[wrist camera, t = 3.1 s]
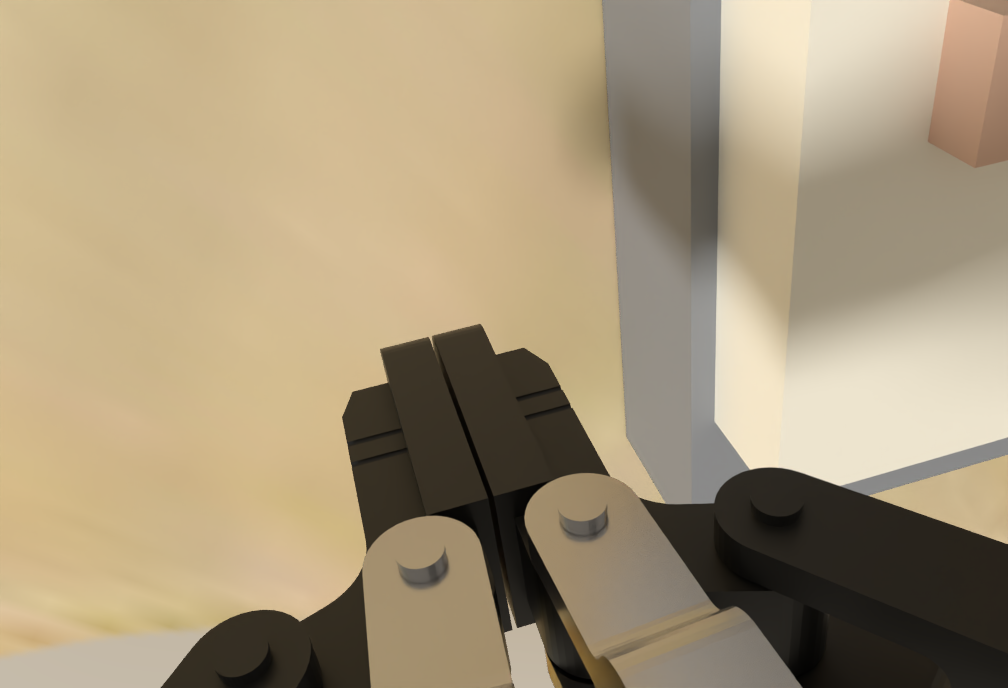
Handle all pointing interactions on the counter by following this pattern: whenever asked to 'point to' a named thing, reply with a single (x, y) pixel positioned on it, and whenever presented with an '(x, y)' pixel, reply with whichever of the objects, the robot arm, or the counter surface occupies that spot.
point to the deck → (681, 248)
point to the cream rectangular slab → (862, 232)
